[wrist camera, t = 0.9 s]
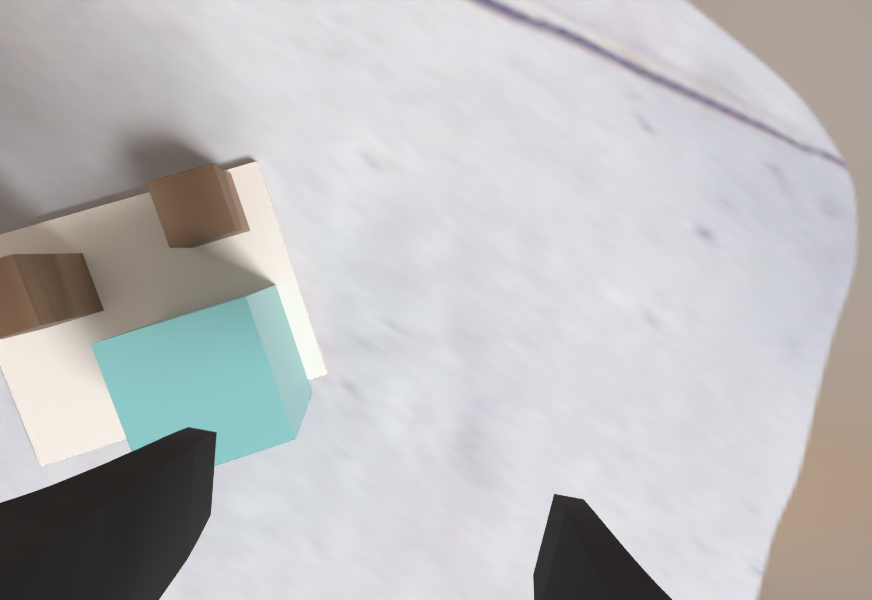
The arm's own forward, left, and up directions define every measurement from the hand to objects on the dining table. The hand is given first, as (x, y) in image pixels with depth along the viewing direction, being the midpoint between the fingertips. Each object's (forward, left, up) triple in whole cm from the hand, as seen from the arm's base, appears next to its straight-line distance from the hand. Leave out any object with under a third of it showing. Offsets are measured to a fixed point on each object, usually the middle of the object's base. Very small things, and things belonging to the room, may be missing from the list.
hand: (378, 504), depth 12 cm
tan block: (-5, +9, -15) cm, 18 cm away
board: (-9, +5, -15) cm, 18 cm away
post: (-12, +7, -15) cm, 20 cm away
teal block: (-6, +2, -15) cm, 16 cm away
